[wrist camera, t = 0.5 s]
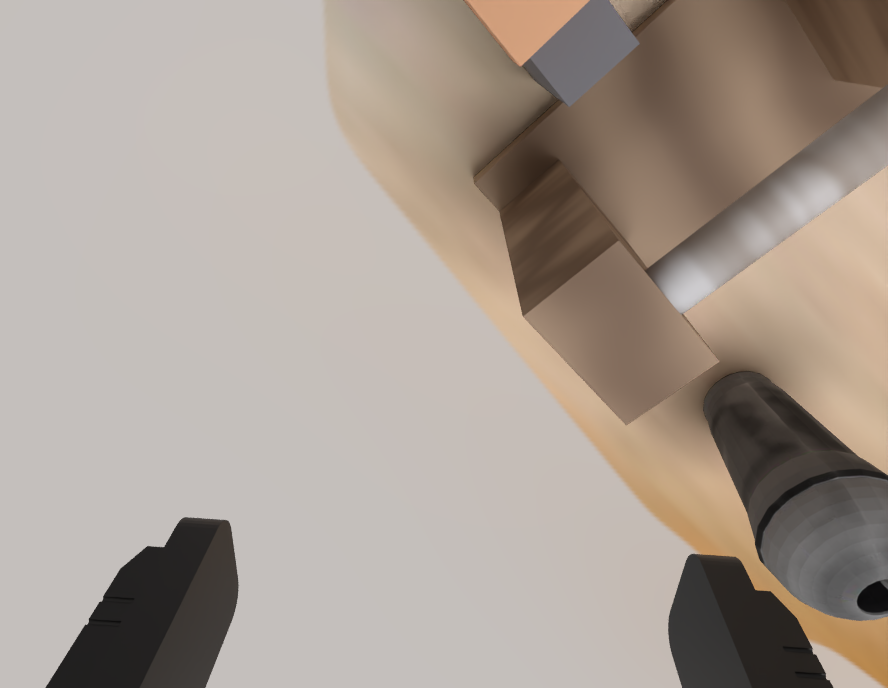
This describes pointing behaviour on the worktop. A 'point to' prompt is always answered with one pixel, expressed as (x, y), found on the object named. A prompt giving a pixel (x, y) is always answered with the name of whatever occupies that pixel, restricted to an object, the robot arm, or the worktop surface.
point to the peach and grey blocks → (558, 40)
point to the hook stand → (686, 177)
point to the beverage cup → (804, 498)
